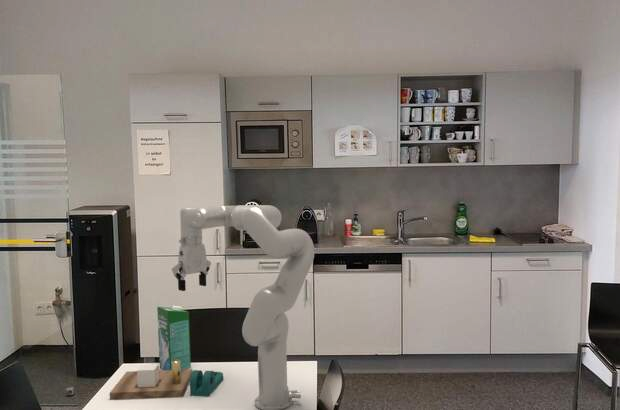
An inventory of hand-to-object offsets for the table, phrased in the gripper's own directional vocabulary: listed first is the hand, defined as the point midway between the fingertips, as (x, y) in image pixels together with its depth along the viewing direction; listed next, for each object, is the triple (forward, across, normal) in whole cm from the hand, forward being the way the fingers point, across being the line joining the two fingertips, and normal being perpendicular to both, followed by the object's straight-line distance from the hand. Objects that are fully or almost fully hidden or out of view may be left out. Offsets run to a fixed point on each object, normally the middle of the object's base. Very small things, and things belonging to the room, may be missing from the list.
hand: (192, 288), depth 197 cm
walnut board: (+36, -10, +11) cm, 39 cm away
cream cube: (+34, -13, +10) cm, 37 cm away
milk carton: (+36, +7, +20) cm, 42 cm away
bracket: (+36, +2, -5) cm, 37 cm away
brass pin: (+34, -6, +2) cm, 34 cm away
